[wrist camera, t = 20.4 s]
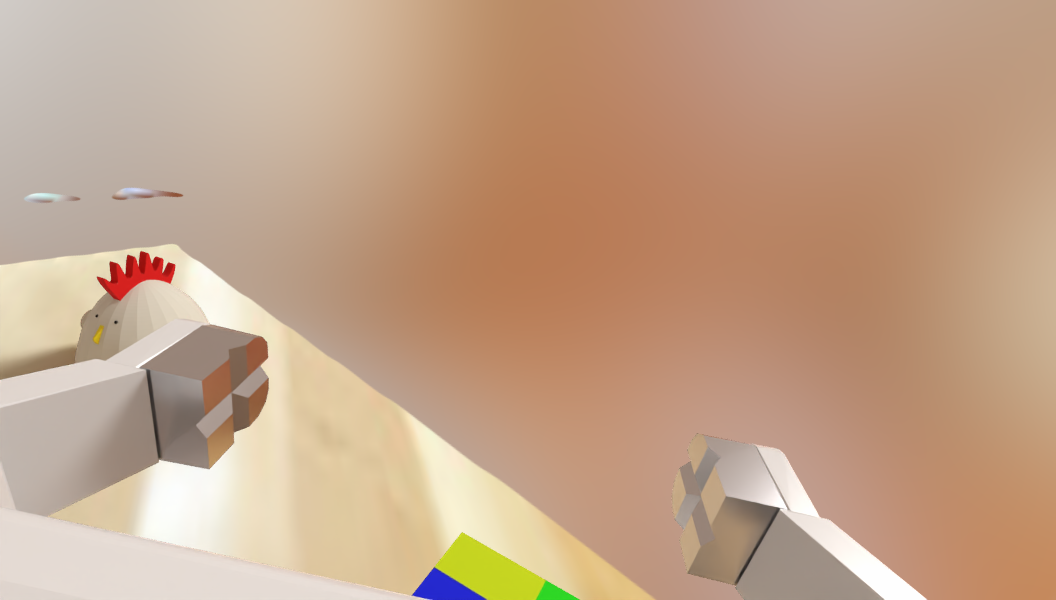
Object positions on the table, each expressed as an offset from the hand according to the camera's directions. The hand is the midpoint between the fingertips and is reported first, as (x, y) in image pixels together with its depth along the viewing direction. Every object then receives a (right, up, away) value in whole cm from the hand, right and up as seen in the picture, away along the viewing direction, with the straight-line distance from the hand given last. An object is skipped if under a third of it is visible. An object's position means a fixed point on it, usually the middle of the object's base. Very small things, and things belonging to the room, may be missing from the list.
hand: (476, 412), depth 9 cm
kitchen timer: (-44, -7, +51) cm, 68 cm away
